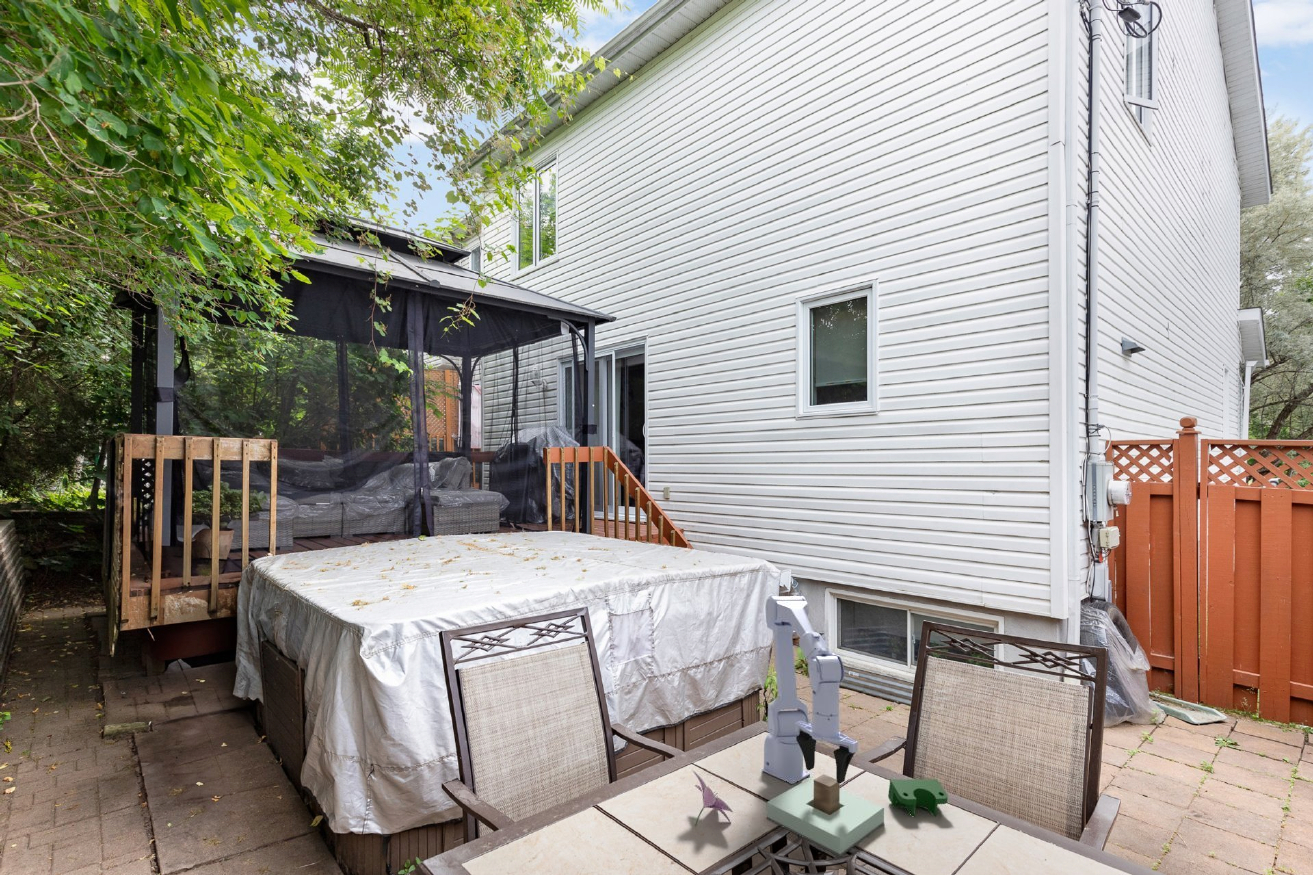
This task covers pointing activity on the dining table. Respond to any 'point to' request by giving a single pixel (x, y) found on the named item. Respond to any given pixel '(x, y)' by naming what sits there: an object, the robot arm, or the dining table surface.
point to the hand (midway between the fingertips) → (825, 775)
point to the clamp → (917, 794)
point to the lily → (711, 799)
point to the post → (826, 794)
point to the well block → (825, 818)
